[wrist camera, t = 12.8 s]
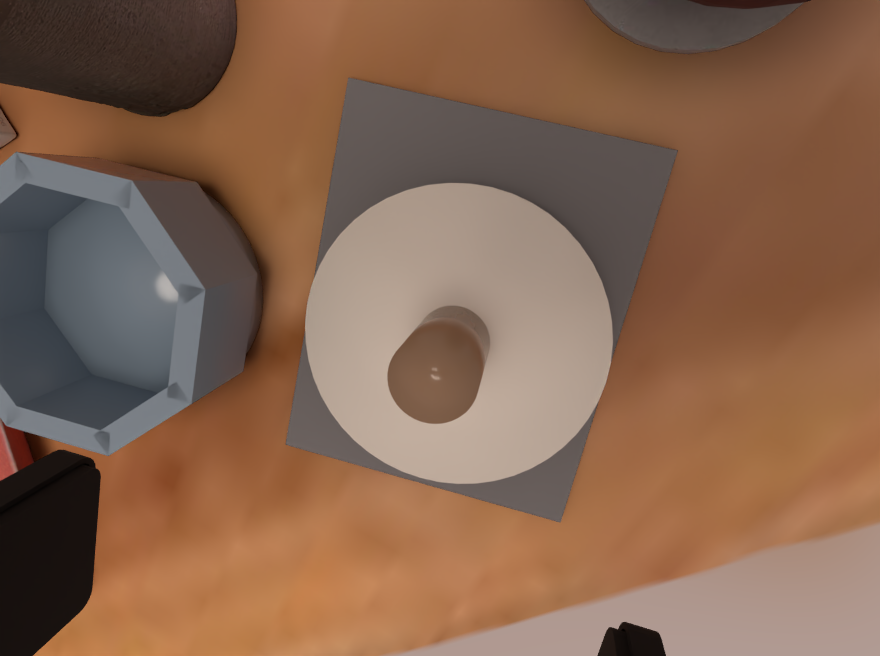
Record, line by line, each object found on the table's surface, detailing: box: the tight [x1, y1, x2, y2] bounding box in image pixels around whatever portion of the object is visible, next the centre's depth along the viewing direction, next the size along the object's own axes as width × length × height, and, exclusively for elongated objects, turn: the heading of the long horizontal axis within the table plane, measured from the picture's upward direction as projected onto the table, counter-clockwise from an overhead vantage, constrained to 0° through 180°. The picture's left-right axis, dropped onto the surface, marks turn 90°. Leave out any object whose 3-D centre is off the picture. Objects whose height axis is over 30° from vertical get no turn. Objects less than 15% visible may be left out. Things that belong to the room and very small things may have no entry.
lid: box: [305, 183, 613, 484], centre depth 27 cm, size 15×15×8 cm
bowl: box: [0, 152, 263, 456], centre depth 30 cm, size 13×13×7 cm
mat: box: [286, 78, 678, 522], centre depth 31 cm, size 16×20×1 cm
